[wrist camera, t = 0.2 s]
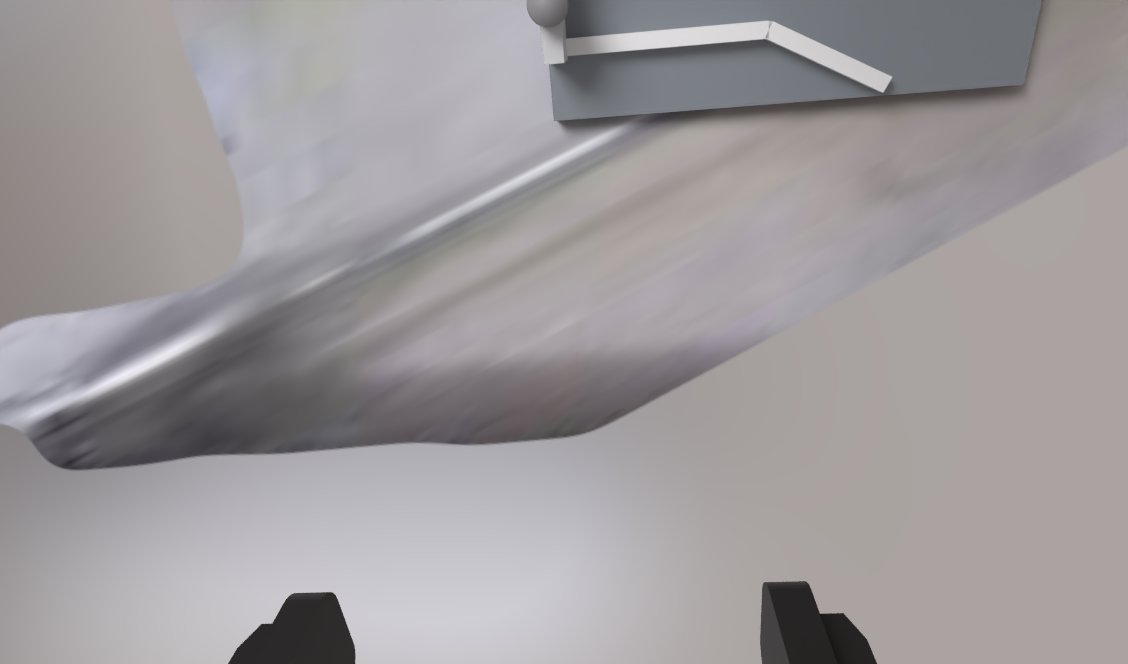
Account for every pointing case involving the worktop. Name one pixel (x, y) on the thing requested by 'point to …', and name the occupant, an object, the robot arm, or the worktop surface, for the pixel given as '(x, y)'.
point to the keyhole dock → (773, 51)
